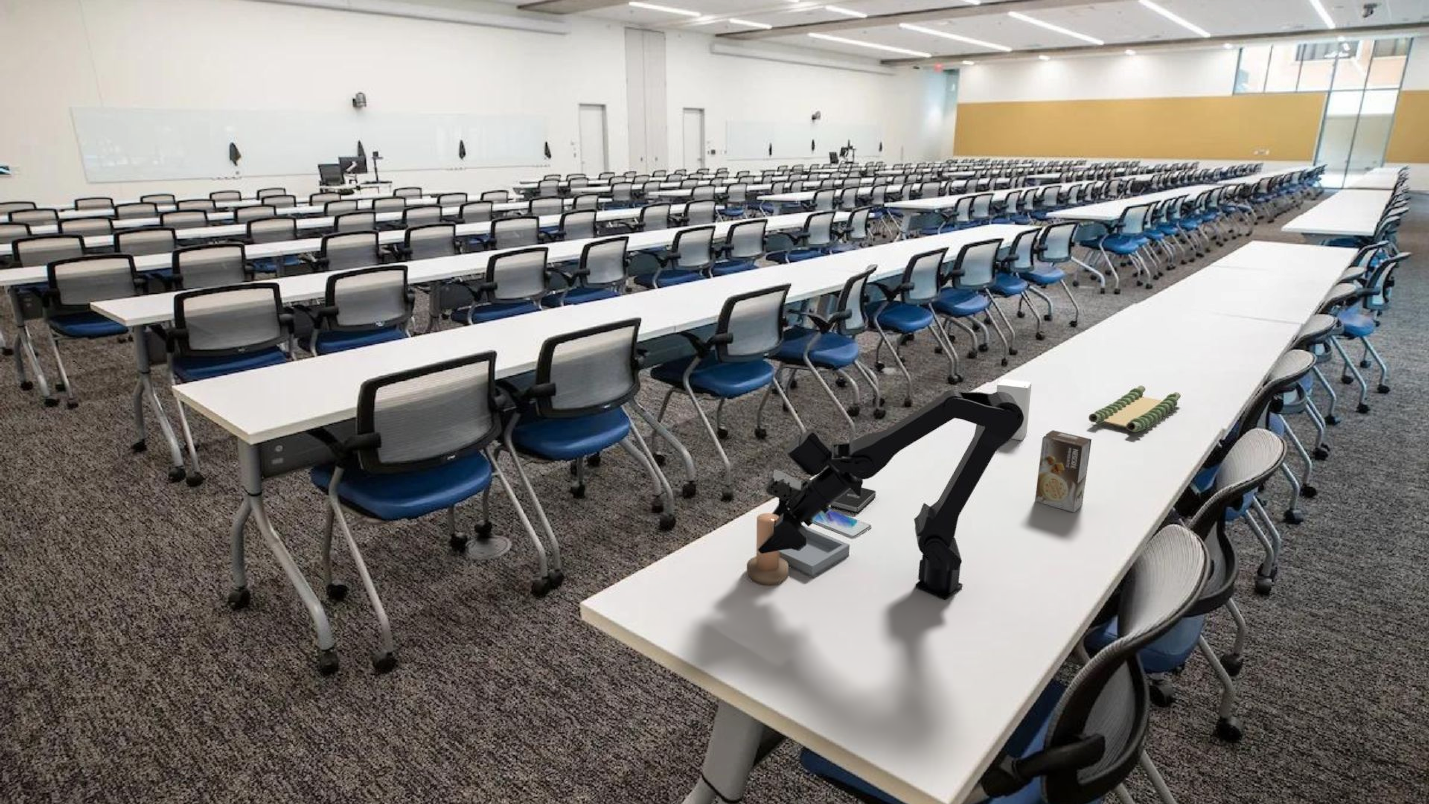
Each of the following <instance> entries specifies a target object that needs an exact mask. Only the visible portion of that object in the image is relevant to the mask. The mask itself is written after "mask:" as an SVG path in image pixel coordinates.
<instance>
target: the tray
mask: <svg viewBox="0 0 1429 804" xmlns="http://www.w3.org/2000/svg"><path fill="white" fill-rule="evenodd" d="M803 526H804V527H805V528H806V529H807V543H806V546H805V547H803V548H802V549H801V550H800V551H796V550H793V549H786V550H779V557H780V558H782V559H784V560H785V561H786V562H787V563H788V568H790V569H792V570H794V571H796V572H799V573H800V574H803V575H805V576H806V577H809V578H811V579H813V578H815V577H817V576H818V575H820V574H821V573H823V572H824V571H826V570H828V569H830V568H832V567H834V565H836V564H838V563H839V562H841V561H842V560H844V559H847V558H848V557H850V546H851V544H849V543H846V542H844V541H842V540H840V539H837V538H834V537H832V536H830V535H827V534H825V533H823V532H820V531H817V530H815V529H812V528H810V527H808V526H807V525H803Z"/></svg>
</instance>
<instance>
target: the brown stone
mask: <svg viewBox="0 0 1429 804" xmlns="http://www.w3.org/2000/svg"><path fill="white" fill-rule="evenodd" d="M746 577H747V579H748V580H750V581H751V582H752V583H754V584H758V585H761V586H776V585H780V584H782V583H784V582H785V581H786V580H788V577H789V567H788V563H787V562H786V561H785V560H784V559H782V558H780V557H779V567H778V569H776V570H773V571H763V570H760V569H758V568H757V566H756V556H753V557H751V558H750V559H749V560H748V561H747V562H746Z"/></svg>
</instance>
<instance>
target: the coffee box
mask: <svg viewBox="0 0 1429 804" xmlns="http://www.w3.org/2000/svg"><path fill="white" fill-rule="evenodd" d="M1092 440H1093V439H1092V438H1088V437H1087V438H1086V437H1084V436H1079V435H1076V434H1075V435H1074V434H1072V433H1070V434H1069V433H1068V432H1062V431H1057V430H1051V431H1049V432H1047V433H1046V434H1045V435H1043V437H1042V440H1041V447H1040V448H1041V449H1040V454H1039V456H1040V457H1039V466H1038V474H1037V480H1036V481H1037V482H1036V491H1035V497H1034V502H1036V503H1040V504H1044V505H1045V506H1046V505H1047V506H1051V507H1053V508H1057V509H1060V510H1065V511H1068V512H1071V513H1076V511H1077V510H1078V509H1079V508H1081V507H1082V506H1083V505H1084V494H1085V489H1086V487H1085V486H1086V482H1087V481H1086V480H1087V473H1088V468H1089V467H1088V466H1089V460H1090V453H1091V446H1092V445H1091V444H1092Z"/></svg>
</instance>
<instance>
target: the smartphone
mask: <svg viewBox="0 0 1429 804" xmlns="http://www.w3.org/2000/svg"><path fill="white" fill-rule="evenodd" d="M812 524H815V525H817V526H819V527H823V528H825V529H826V530H829V531H832V530H833V532H835V533H837V534H840V533H841V534H840V535H842V534H843V535H842V536H845V537H847V536H848V537H847V538H850V539H857V538H859V537H860V536H861V534H862V533H863V534H864V533H866V532H868V531H869V530H871V529H872V525H871V524H869V523H867V522H864V521H861V520H858V519H856V518H853V517H850V516H847V515H845V514H842V513H840V512H837V511H834V510H833V509H829V511H827V512H826V513H824V512H823V511H822V512H821V513H819V514H818V515H817V516H816V517H814V518H813V521H812ZM867 530H868V531H867ZM863 534H862V535H863Z"/></svg>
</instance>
